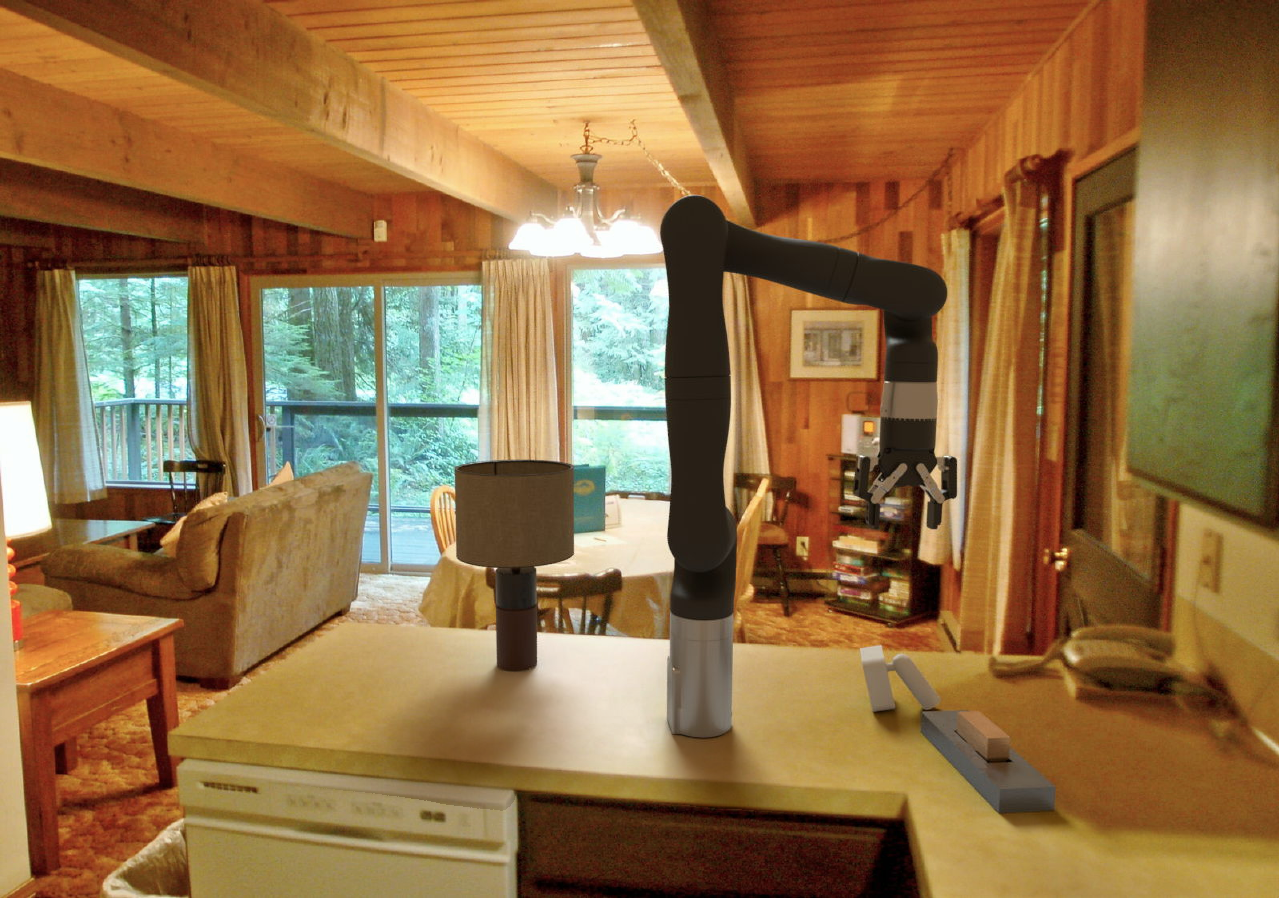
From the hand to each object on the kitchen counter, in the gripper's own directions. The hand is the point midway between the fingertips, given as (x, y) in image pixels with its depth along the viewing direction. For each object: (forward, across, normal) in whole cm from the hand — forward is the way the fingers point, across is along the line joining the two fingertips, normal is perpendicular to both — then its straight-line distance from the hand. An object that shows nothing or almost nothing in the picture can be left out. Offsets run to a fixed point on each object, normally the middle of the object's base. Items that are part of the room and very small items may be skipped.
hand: (903, 528), depth 120 cm
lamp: (+30, -56, +31) cm, 71 cm away
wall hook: (+30, +4, +8) cm, 31 cm away
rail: (+30, +7, -12) cm, 33 cm away
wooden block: (+29, +7, -12) cm, 32 cm away
